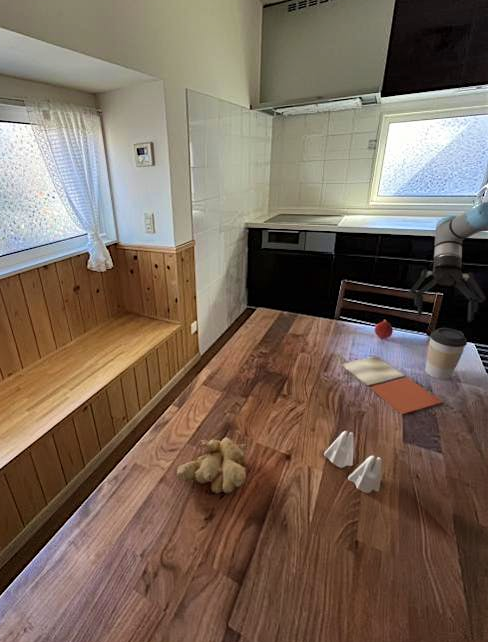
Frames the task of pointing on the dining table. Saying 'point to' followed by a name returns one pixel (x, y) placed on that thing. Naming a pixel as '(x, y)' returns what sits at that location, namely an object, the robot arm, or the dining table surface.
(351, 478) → the shaker set
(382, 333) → the onion
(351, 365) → the cream mat
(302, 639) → the dining table surface
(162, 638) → the dining table surface
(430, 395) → the terracotta mat
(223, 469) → the ginger root
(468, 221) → the robot arm
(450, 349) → the coffee cup
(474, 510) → the dining table surface
